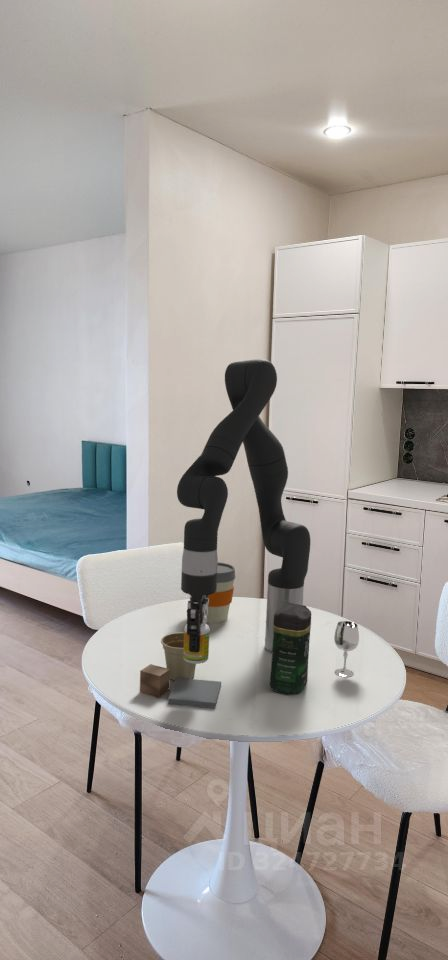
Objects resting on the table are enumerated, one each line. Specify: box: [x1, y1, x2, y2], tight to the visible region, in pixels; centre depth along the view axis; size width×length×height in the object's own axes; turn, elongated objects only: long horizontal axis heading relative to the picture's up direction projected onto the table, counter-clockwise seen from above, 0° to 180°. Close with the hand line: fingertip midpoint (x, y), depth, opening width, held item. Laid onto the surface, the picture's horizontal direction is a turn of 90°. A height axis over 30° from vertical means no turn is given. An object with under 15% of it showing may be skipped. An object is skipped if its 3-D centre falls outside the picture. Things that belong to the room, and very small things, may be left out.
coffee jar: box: [269, 603, 312, 696], centre depth 141 cm, size 10×8×19 cm
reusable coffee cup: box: [206, 561, 236, 624], centre depth 185 cm, size 13×13×15 cm
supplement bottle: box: [183, 615, 210, 665], centre depth 135 cm, size 5×5×10 cm
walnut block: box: [139, 663, 171, 699], centre depth 138 cm, size 5×4×5 cm
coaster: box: [167, 678, 222, 709], centre depth 137 cm, size 10×10×1 cm
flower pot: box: [160, 632, 197, 682], centre depth 146 cm, size 9×9×9 cm
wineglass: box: [333, 620, 360, 678], centre depth 150 cm, size 6×6×12 cm
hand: (196, 645), depth 136 cm, fingers closed on supplement bottle, 5 cm apart
